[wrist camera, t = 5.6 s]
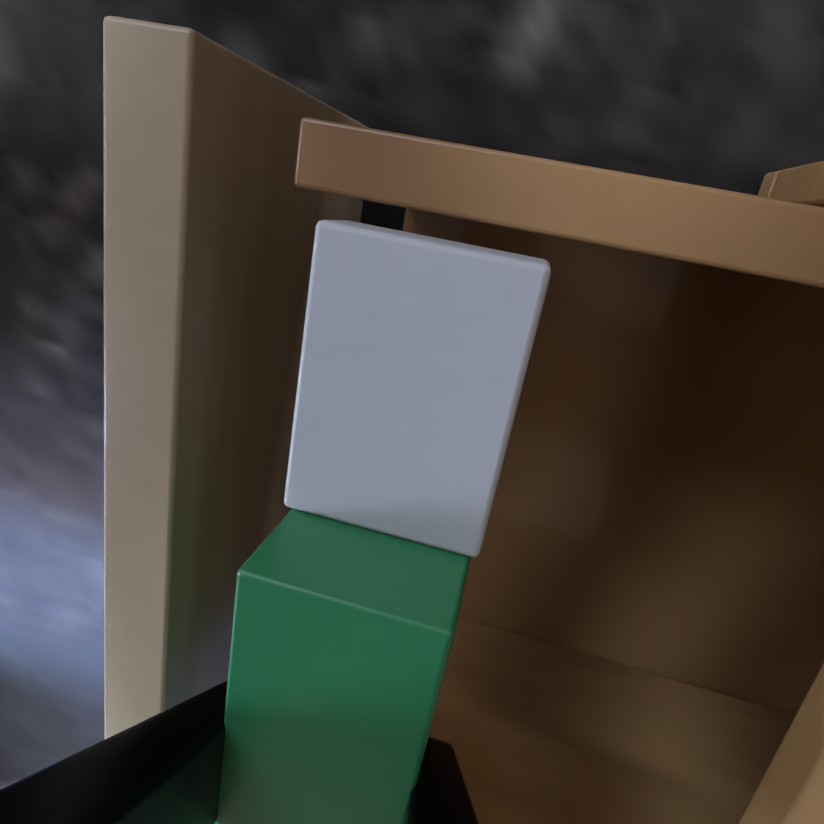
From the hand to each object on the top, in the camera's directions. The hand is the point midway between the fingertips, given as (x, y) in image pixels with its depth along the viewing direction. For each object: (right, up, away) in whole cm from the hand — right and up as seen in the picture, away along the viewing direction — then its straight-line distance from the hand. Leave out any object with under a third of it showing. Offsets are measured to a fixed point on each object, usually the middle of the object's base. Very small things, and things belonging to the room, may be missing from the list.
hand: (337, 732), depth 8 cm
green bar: (+1, +2, +1) cm, 2 cm away
